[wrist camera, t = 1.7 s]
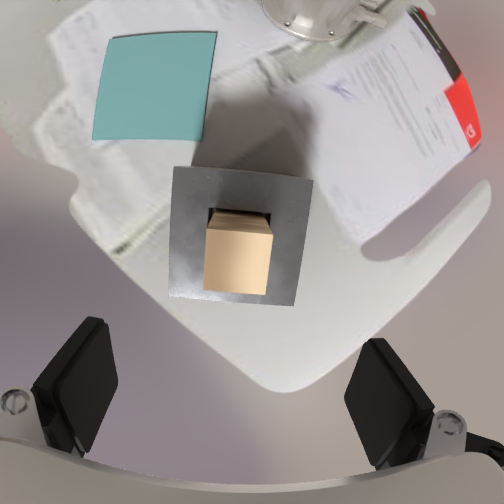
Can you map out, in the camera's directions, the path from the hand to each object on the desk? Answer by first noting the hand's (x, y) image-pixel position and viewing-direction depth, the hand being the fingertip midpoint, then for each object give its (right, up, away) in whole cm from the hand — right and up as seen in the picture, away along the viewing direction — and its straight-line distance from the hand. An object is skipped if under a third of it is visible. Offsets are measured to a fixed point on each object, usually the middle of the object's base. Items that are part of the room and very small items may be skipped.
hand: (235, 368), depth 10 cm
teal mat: (-11, +24, +19) cm, 33 cm away
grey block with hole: (-1, +8, +24) cm, 26 cm away
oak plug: (-1, +7, +21) cm, 22 cm away
